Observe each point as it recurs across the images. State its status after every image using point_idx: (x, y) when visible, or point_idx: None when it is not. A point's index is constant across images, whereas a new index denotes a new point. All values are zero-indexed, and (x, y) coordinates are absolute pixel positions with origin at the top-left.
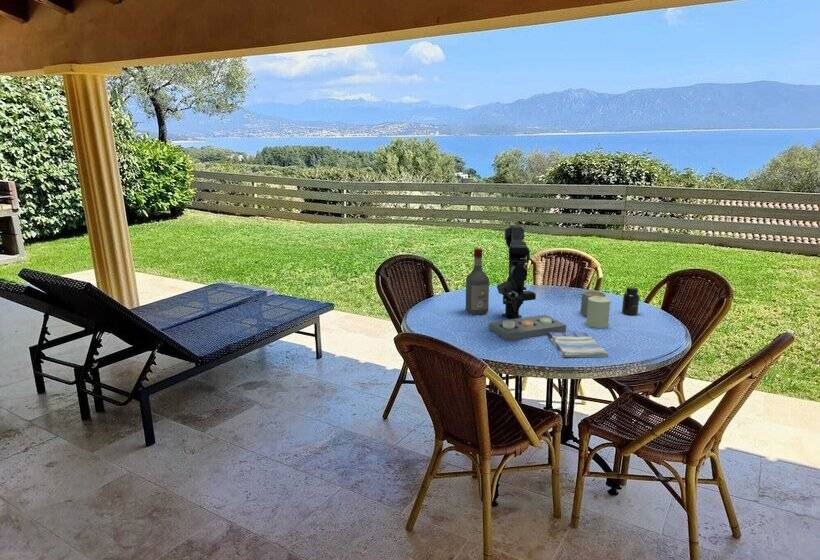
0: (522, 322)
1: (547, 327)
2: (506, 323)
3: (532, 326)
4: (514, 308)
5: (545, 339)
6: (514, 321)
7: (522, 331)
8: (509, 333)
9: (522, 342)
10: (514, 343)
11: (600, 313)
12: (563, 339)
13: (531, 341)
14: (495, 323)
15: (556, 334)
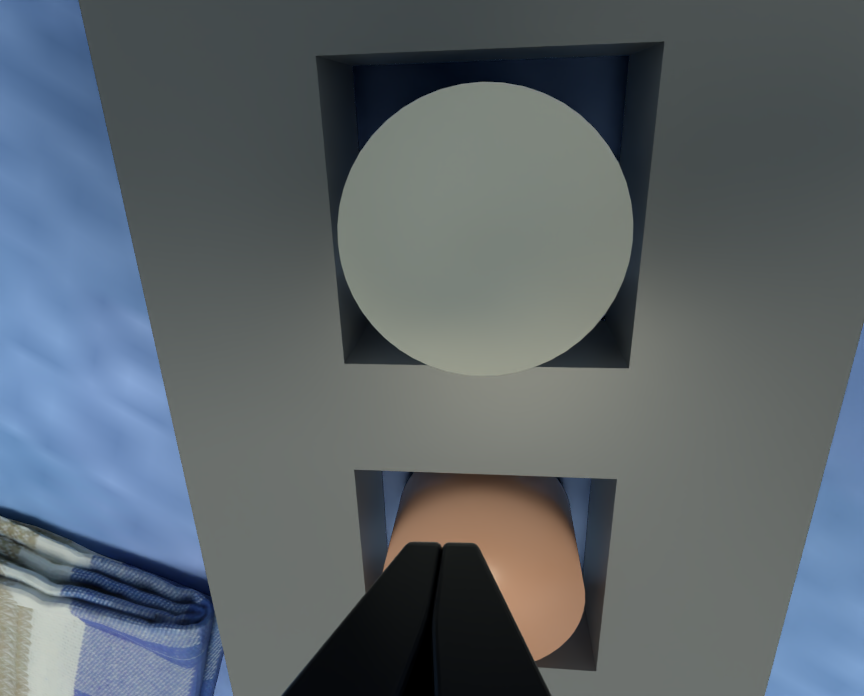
0: (508, 530)
1: (247, 694)
2: (434, 149)
3: (343, 571)
4: (428, 616)
5: (134, 516)
6: (689, 471)
7: (161, 319)
8: (96, 17)
9: (72, 202)
10: (44, 55)
11: None
12: (14, 641)
13: (93, 338)
14: (809, 37)
15: (138, 664)
